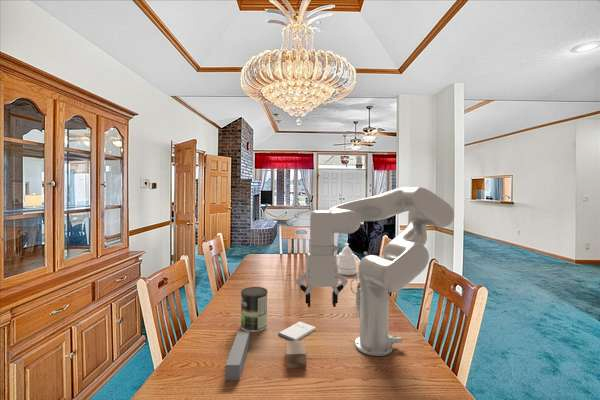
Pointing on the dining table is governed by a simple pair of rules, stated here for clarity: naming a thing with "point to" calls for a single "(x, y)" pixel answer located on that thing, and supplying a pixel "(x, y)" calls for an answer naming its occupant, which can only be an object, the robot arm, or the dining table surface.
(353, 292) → the french press
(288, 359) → the walnut block
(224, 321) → the dining table surface
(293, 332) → the external hard drive
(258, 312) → the coffee can
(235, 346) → the board
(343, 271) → the honey pot
